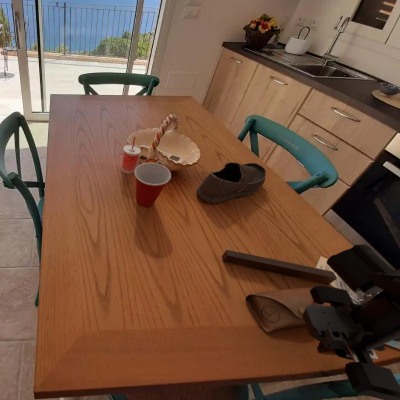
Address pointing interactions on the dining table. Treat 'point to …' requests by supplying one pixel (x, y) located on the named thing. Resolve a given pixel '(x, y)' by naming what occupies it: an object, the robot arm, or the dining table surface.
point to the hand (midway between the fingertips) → (320, 351)
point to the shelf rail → (279, 267)
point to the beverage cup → (130, 158)
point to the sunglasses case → (280, 308)
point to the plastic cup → (150, 182)
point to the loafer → (232, 182)
